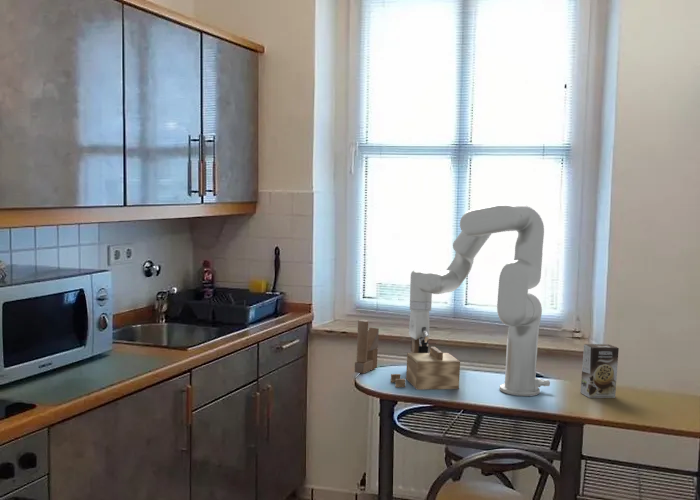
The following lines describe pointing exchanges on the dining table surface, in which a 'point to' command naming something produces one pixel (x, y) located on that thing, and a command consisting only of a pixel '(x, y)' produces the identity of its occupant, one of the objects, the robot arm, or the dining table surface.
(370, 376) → the dining table surface
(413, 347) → the tall wooden pillar
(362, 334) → the wooden block
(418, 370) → the toolbox
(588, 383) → the coffee box
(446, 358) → the lid
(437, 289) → the robot arm
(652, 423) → the dining table surface
